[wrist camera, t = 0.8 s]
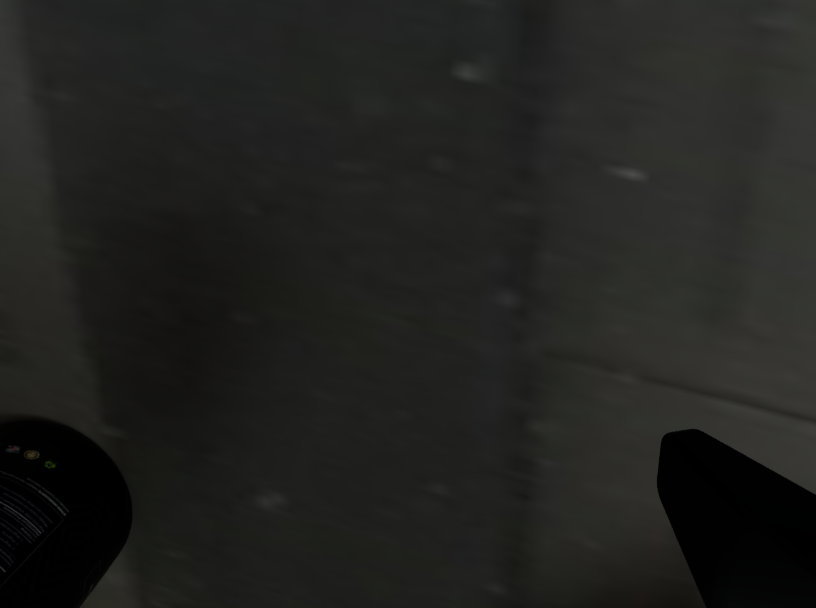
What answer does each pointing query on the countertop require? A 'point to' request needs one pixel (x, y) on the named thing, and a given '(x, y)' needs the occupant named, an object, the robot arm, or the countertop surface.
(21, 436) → the supplement bottle
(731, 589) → the robot arm
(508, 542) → the countertop surface
